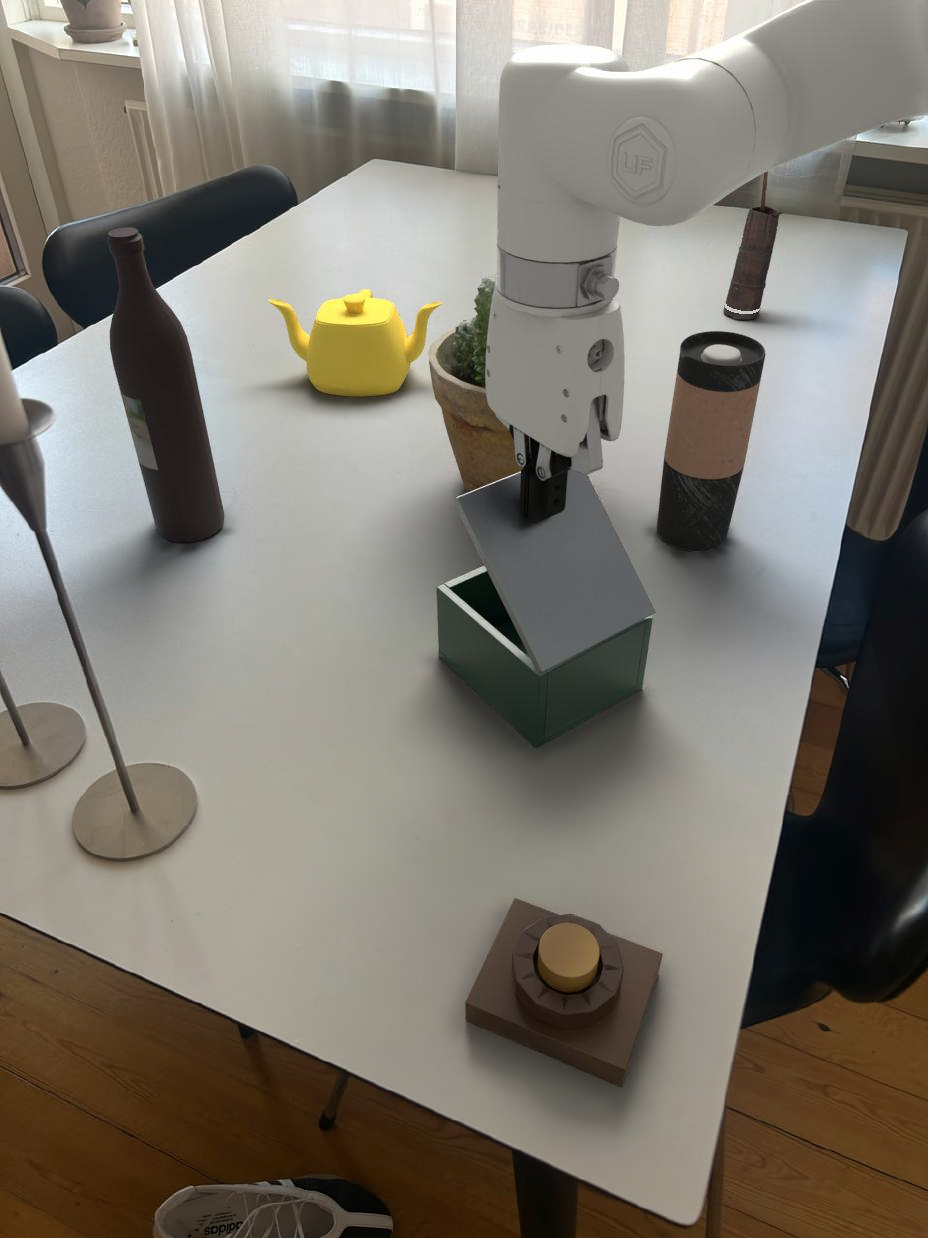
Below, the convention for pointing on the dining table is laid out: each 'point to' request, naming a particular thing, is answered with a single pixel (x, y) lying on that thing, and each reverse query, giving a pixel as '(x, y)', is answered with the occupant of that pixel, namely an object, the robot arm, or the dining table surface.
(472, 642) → the tin
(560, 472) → the robot arm
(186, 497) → the wine bottle
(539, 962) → the button
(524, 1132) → the dining table surface
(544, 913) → the button block
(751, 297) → the butter churn
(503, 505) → the tin lid
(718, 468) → the travel mug
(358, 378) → the teapot
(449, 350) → the potted plant
